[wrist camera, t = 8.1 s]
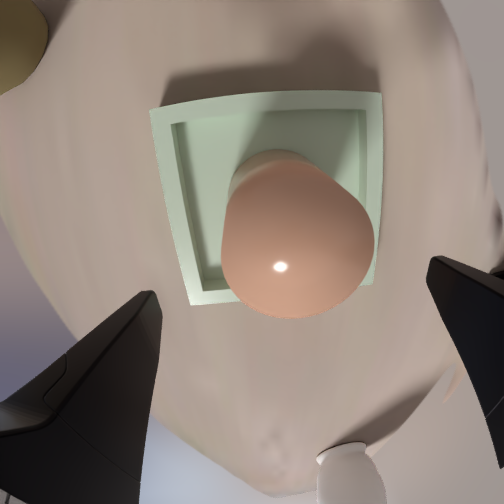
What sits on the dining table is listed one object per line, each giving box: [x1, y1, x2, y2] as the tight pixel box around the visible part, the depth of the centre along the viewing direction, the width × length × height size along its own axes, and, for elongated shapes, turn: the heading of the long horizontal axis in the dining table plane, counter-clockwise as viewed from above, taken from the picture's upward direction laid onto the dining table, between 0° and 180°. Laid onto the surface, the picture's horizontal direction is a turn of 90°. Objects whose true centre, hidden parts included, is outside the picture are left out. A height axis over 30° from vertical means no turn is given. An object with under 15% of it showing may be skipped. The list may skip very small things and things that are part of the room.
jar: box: [316, 442, 387, 504], centre depth 30 cm, size 11×10×15 cm
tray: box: [149, 90, 383, 305], centre depth 16 cm, size 12×12×2 cm
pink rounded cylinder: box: [221, 149, 375, 319], centre depth 13 cm, size 6×6×7 cm
